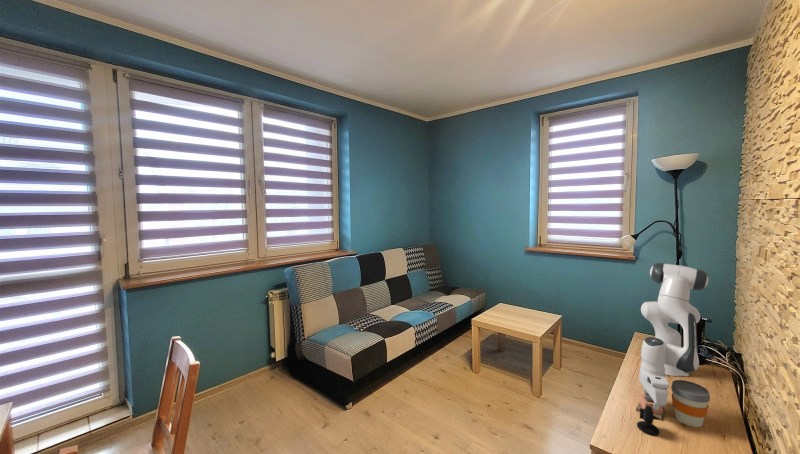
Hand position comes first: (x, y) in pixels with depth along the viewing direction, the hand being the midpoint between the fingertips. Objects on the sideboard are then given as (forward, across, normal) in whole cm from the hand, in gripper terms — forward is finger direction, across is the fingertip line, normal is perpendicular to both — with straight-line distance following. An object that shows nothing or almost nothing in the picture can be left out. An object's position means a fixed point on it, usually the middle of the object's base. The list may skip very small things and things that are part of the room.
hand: (651, 402), depth 146 cm
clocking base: (+4, 0, 0) cm, 4 cm away
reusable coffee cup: (+4, +3, +13) cm, 14 cm away
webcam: (+4, +15, -6) cm, 17 cm away
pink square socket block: (+3, 0, 0) cm, 3 cm away
